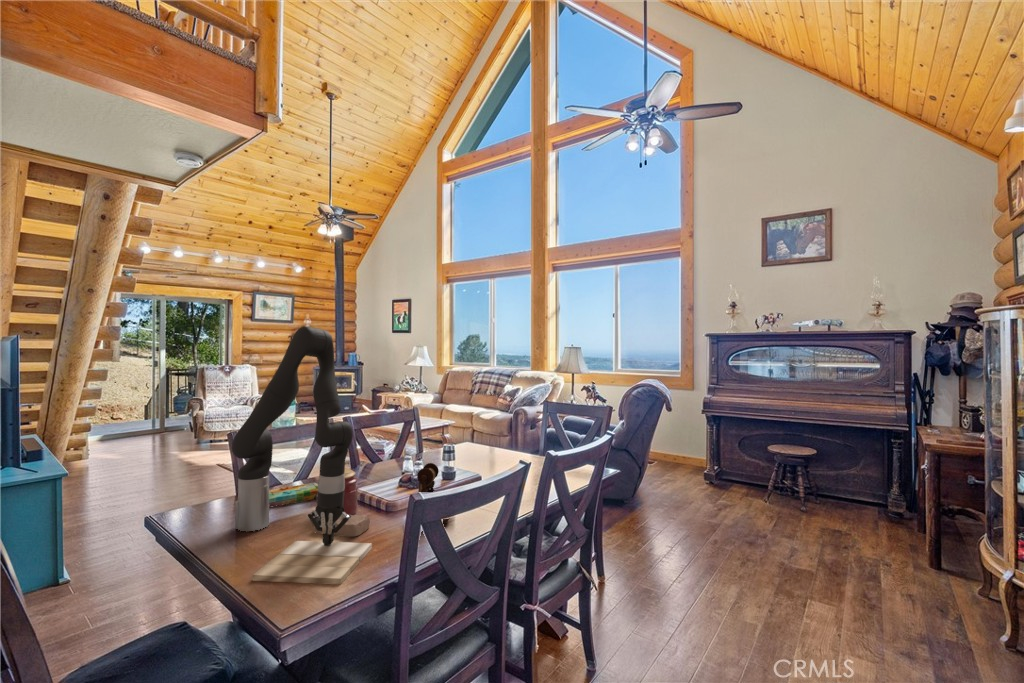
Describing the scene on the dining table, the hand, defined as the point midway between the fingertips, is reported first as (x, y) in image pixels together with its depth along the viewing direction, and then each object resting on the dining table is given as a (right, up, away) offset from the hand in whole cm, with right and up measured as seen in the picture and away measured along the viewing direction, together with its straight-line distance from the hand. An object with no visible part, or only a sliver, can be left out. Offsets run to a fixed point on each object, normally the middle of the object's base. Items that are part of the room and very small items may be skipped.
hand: (327, 544), depth 142 cm
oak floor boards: (0, -2, -13) cm, 13 cm away
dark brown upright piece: (+27, -2, +21) cm, 34 cm away
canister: (-8, -2, +30) cm, 31 cm away
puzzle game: (-31, -2, +45) cm, 55 cm away
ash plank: (+1, -2, -3) cm, 3 cm away
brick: (-1, -2, +14) cm, 15 cm away
